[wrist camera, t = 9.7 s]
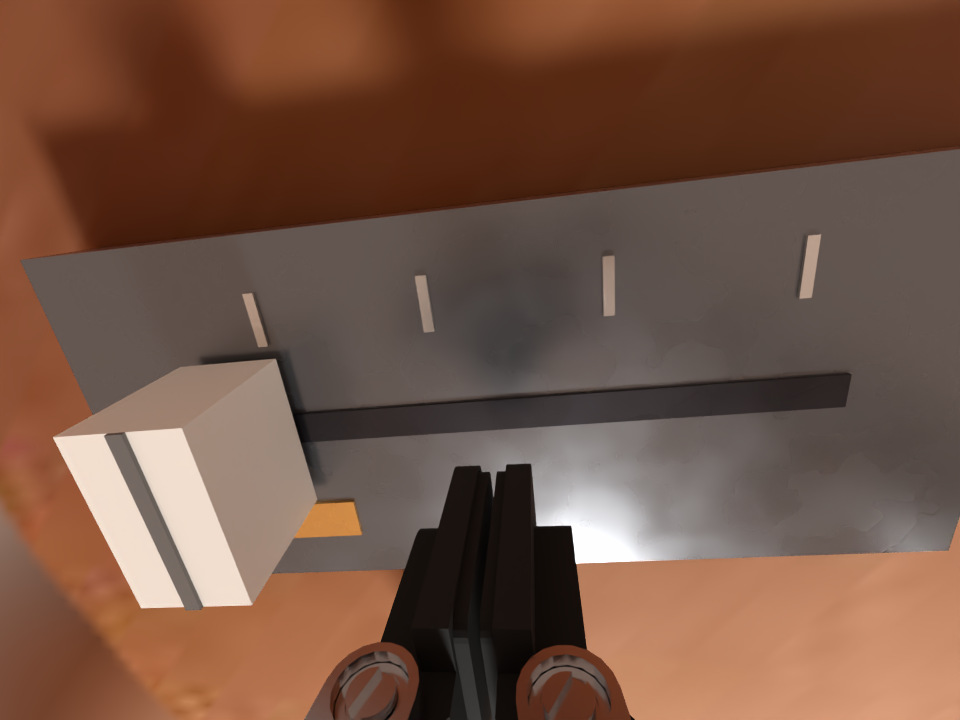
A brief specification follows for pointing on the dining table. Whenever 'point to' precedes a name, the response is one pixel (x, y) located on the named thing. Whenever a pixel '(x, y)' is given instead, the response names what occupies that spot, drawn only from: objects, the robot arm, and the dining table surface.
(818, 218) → the dimmer panel
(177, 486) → the fader
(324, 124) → the dining table surface
